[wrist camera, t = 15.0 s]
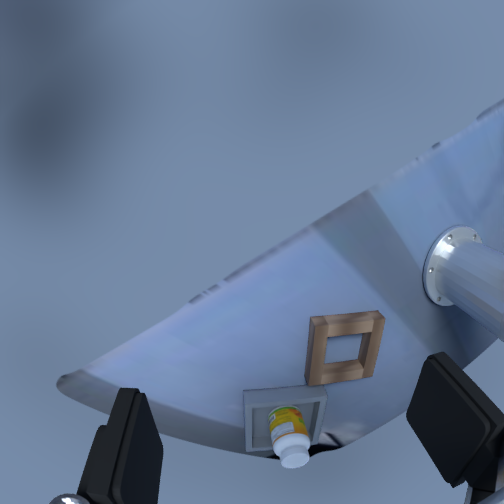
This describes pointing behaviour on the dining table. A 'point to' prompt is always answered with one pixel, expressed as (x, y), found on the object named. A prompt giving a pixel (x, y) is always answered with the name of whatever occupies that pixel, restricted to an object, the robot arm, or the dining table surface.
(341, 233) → the dining table surface
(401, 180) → the dining table surface
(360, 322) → the socket block
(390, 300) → the dining table surface
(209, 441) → the dining table surface
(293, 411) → the supplement bottle
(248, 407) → the tray
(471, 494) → the robot arm
